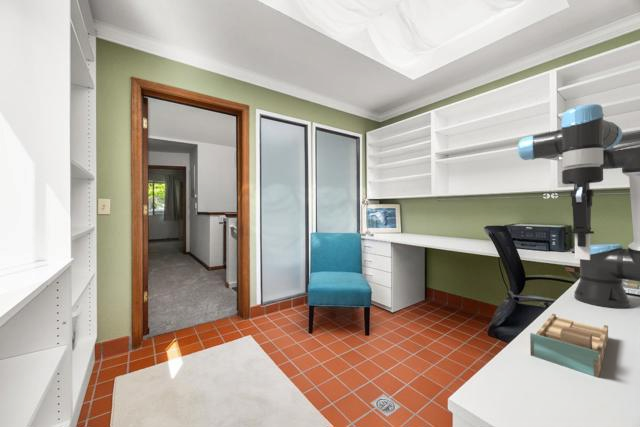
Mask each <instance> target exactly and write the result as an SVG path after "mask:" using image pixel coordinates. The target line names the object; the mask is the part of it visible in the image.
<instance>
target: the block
mask: <svg viewBox="0 0 640 427" xmlns="http://www.w3.org/2000/svg"><path fill="white" fill-rule="evenodd" d="M560 336H561V341H562V342H566V343H570V344H573V345H577V346H580V347H584V348H588V349H591V350H592V333H591V332H587V331H583V330H579V329H575V328H571V327H566V326H564V327H563V329H562V330H561V332H560Z"/></svg>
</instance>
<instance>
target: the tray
mask: <svg viewBox="0 0 640 427" xmlns="http://www.w3.org/2000/svg"><path fill="white" fill-rule="evenodd" d="M564 326H566V327H571V328H575V329H579V330H583V331H587V332H591V333H592V350H591V349H588V348H584V347H580V346H577V345H573V344H570V343H566V342H562V341H561V336H560V332H561V330H562V329H563V327H564ZM529 335H530V337H529V339H530V340H529V341H530V342H529V344H530V346H529V347H530V349H529V350H530V356H532V357H535V358H538V359H540V360H544V361H547V362H550V363H553V364H557V365H559V366H563V367H566V368H568V369H572V370H575V371H578V372H581V373H583V374H587V375H590V376H593V377H596V378H599V377H600V373H601V369H602V365H603V362H604V357H605V353H606V349H607V345H608V342H609V325H606V324H604V325H603V328H602V327H598V326H593V325H590V324H584V323H581V322H576V321H574V320H571V319H567V318H563V317H559V316H557V315H556V313H552V314H551V315H550V316H549V317H548V319H547V320H546V321H545V322H544V324H543V325H542V326H541V327H540V328H539V329H538V331H537V332H536V333H534V332H531V333H529Z"/></svg>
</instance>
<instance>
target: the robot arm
mask: <svg viewBox="0 0 640 427" xmlns="http://www.w3.org/2000/svg"><path fill="white" fill-rule="evenodd" d="M604 116H605V114H604V111H603V106H602V105H600V104H595V103H594V104H593V103H592V104H591V103H590V104H583V105H580V106H576V107H573V108H570V109H567V110H566V111H564V113H563V114H562V116H561V124H560V127H561V129H557V130H554V131H553V130H552V131H548V132H544V133H540V134H534V135H531V136H530V135H529V136H527V137H523V138H522V139H520V140H519V142H518V145H517V152H518V153H517V154H518V155H519V158H521V160H524V161H529V160H531V161H533V160H536V159H537V160H538V159H546V160H552V161H559V162H562V167H561V168H563V169H564V170H562V171H561V181H562V182H561V183H562V184H563V185H573V190H570V191H569V192H570V194H569V196H570V198H571V207H572V220H573V221H572V222H573V226H572V227H573V230H571V231H570V234H574V259H576V260H579V278H580V279H579V282H578V284H577V286H576V287H575V288H576V289H575V291H574V293H573V294H574V300H577V301H579V302H583V303H586V304H590V305H594V306H598V307H599V306H600V307H606V308H613V309H615V308H616V309H626V308H629V307H630V299H629V296H628V295H627V294H626V293H627V292H626V290H625V288H624V286H623V280H628V281H633V282H640V131H639V132H632V133H627V134H623V130H622V128H621V127H620V126H619V125H617V123H614V122H613V121H608V120H605V119H604ZM612 169H621V173H622V174H623V175H625V176H627V177H628V179H629V180H628V181H629V193H630V194H629V196H630V205H631V206H630V207H631V209H630V210H631V218H632V219H631V220H632V232H633V234H632V235H633V241H632V242H630V243H629V244H628V245H627V248H624V247H623V245H622V244H619V243H617V244H615V243H610V244H609V243H607V244H605V243H604V244H603V243H602V244H600V243H598V244H591V235H592V234H595V231H593V230H592V227H591V226H592V225H591V219H592V217H591V215H592V212H591V211H592V207H593V197H594V191H595V190H593V189H590V184H593V183H594V184H596V183H601V182H603V181H604V170H612Z"/></svg>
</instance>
